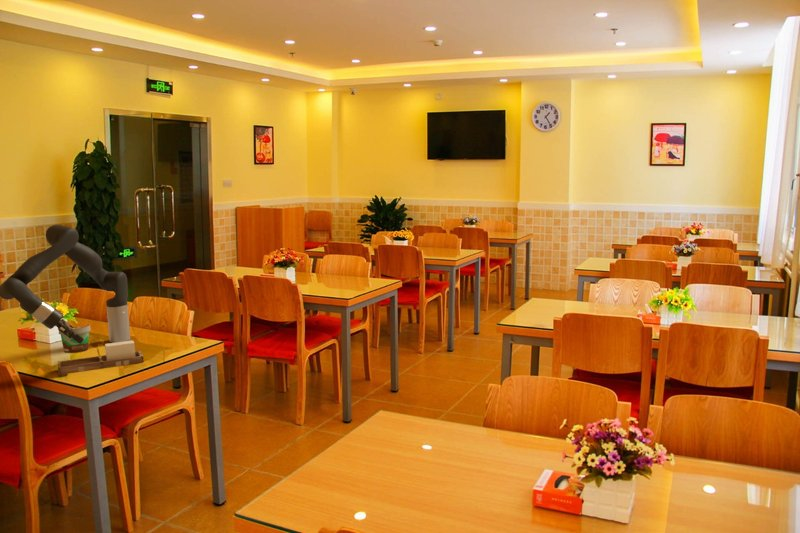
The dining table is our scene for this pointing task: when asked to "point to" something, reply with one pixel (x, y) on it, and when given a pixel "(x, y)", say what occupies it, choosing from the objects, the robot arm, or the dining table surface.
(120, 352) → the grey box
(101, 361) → the rack
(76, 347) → the food container
